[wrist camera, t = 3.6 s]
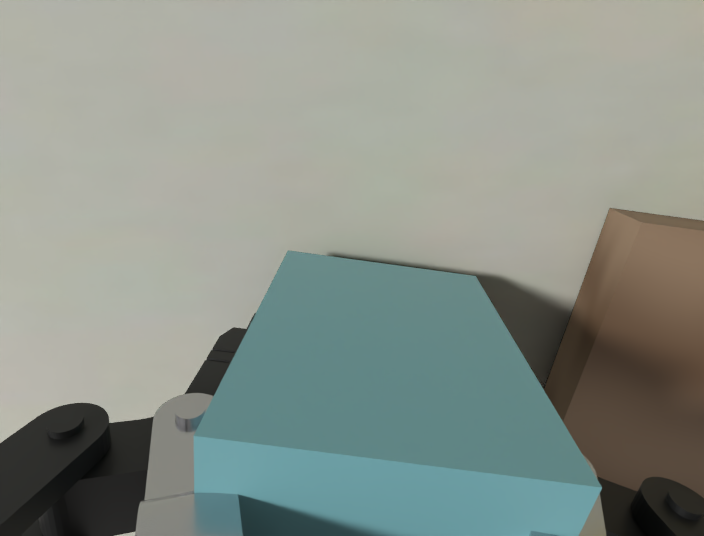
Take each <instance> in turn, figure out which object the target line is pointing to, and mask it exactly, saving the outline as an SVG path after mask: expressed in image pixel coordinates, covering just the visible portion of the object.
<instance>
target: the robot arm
mask: <svg viewBox="0 0 704 536" xmlns="http://www.w3.org/2000/svg"><path fill="white" fill-rule="evenodd" d="M255 314H256V313H255ZM255 314H254V316H255ZM254 316H253V318H254ZM253 318H252V320H253ZM252 320H251V321H250V323H249V325H248V327H247V329H241V328H234V327H233V328H232V329H230V330H229V331H227V332H226V333H224V334H223V335H221V336H220V337H219V339H218V340H217V342H216V344H215V345H214V347H213V350H211V352H210V353H209V355H208V357H207V360H205V362H204V363H203V365H202V367H201V368H200V370H199V372H198V373H197V375H196V376H195V378H194V380H193V381H192V383H191V385H190V386H189V388H188V390H187V391H186V393H185V394H183V395H180V396H177V397H174V398H172V399H170V400H168V401H167V402H165V403H164V404H163V405H162V406H161V407H159V409H158V410H157V411H156V413H155V415H154V417H151V418H147V419H141V420H133V421H124V422H115V423H109V417H108V414H107V412H106V411H105V410H104V409H103V408H101V407H100V406H97V405H94V404H90V403H74V404H68V405H63V406H60V407H57V408H54V409H52V410H49V411H47V412H45V413H43V414H41V415H40V416H38V417H37V418H35V419H34V420H32V421H31V422H30V423H28V424H27V425H25V426H24V427H23V428H21V429H20V430H18V431H17V432H16V433H14V434H13V435H11V436H10V437H9V438H7V439H6V440H4V441H3V442H2V443H0V536H114V535H119V534H124V533H130V532H135V531H136V532H135V536H243V533H242V524H241V516H240V507H239V498H238V494H226V493H194V434H195V432H196V430H197V428H198V426H199V424H200V422H201V420H202V418H203V416H204V414H205V412H206V410H207V408H208V406H209V405H210V403H211V401H212V399H213V397H214V395H215V393H216V391H217V389H218V387H219V385H220V383H221V381H222V379H223V377H224V375H225V373H226V371H227V369H228V367H229V365H230V363H231V361H232V359H233V357H234V356H235V354H236V352H237V350H238V348H239V346H240V344H241V342H242V340H243V338H244V336H245V334H246V332H247V330H248V328H249V326H250V324H251V322H252ZM582 455H583V454H582ZM583 456H584V455H583ZM584 458H585V460H586V461H587V463H588V465H589V466H590V468H591V470H592V471H593V473H594V475H595V476H596V478H597V480H598V481H599V483H600V485H601V486H602V489H601V491H600V493H599V495H598V497H597V499H596V501H595V503H594V505H593V507H592V509H591V511H590V514H589V516H588V518H587V520H586V522H585V524H584V526H583V528H582V530H581V532H580V534H579V536H704V498H703V497H702V496H700V495H699V494H698V493H696V492H695V491H693V490H692V489H690V488H688V487H686V486H684V485H682V484H680V483H678V482H676V481H673V480H670V479H667V478H663V477H649V478H646V479H645V480H644V481H643V482H642V484H641V486H640V488H639V489H638V491H635V490H632V489H630V488H627V487H624V486H621V485H619V484H616V483H613V482H610V481H608V480H605V479H603V478H600V477H598V476H597V474H596V471H595V469H594V467H593V465H592V464H591V463H590V461H589V460H588V459H587V458H586V457H585V456H584ZM529 536H556V535H552V534H547V533H542V532H537V531H531V532H530V535H529Z"/></svg>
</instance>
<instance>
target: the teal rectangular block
mask: <svg viewBox="0 0 704 536" xmlns="http://www.w3.org/2000/svg"><path fill="white" fill-rule="evenodd" d="M601 489H602V486H601V485H600V483H599V481H598V480H597V478H596V476H595V475H594V473H593V471H592V470H591V468H590V466H589V465H588V463H587V461H586V460H585V458H584V456H583V455H582V453H581V451H580V450H579V448H578V446H577V445H576V443H575V441H574V440H573V438H572V436H571V435H570V433H569V431H568V430H567V428H566V426H565V425H564V423H563V421H562V420H561V418H560V416H559V415H558V413H557V411H556V410H555V408H554V406H553V405H552V403H551V401H550V400H549V398H548V396H547V395H546V393H545V391H544V389H543V388H542V386H541V384H540V383H539V381H538V379H537V378H536V376H535V374H534V373H533V371H532V369H531V368H530V366H529V364H528V363H527V361H526V359H525V358H524V356H523V354H522V353H521V351H520V349H519V348H518V346H517V344H516V343H515V341H514V339H513V338H512V336H511V334H510V333H509V331H508V329H507V328H506V326H505V324H504V323H503V321H502V319H501V318H500V316H499V314H498V313H497V311H496V309H495V308H494V306H493V304H492V303H491V301H490V299H489V298H488V296H487V294H486V293H485V291H484V289H483V288H482V286H481V284H480V283H479V281H478V279H477V278H476V276H472V275H465V274H457V273H450V272H442V271H435V270H428V269H420V268H413V267H406V266H398V265H391V264H384V263H376V262H369V261H361V260H354V259H347V258H339V257H332V256H325V255H317V254H310V253H302V252H295V251H288V252H287V254H286V256H285V258H284V260H283V261H282V263H281V265H280V267H279V269H278V271H277V273H276V275H275V277H274V279H273V281H272V283H271V285H270V287H269V289H268V291H267V293H266V295H265V297H264V299H263V301H262V303H261V305H260V307H259V309H258V310H257V312H256V314H255V316H254V318H253V320H252V322H251V324H250V326H249V328H248V330H247V332H246V334H245V336H244V338H243V340H242V342H241V344H240V346H239V348H238V350H237V352H236V354H235V356H234V357H233V359H232V361H231V363H230V365H229V367H228V369H227V371H226V373H225V375H224V377H223V379H222V381H221V383H220V385H219V387H218V389H217V391H216V393H215V395H214V397H213V399H212V401H211V403H210V405H209V406H208V408H207V410H206V412H205V414H204V416H203V418H202V420H201V422H200V424H199V426H198V428H197V430H196V432H195V434H194V493H226V494H238V498H239V507H240V516H241V524H242V533H243V536H529V535H530V532H531V531H537V532H542V533H547V534H552V535H556V536H579V534H580V532H581V530H582V528H583V526H584V524H585V522H586V520H587V518H588V516H589V514H590V511H591V509H592V507H593V505H594V503H595V501H596V499H597V497H598V495H599V493H600V491H601Z"/></svg>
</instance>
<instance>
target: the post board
mask: <svg viewBox="0 0 704 536" xmlns="http://www.w3.org/2000/svg"><path fill="white" fill-rule="evenodd" d="M544 391H545V393H546V395H547V396H548V398H549V400H550V401H551V403H552V405H553V406H554V408H555V410H556V411H557V413H558V415H559V416H560V418H561V420H562V421H563V423H564V425H565V426H566V428H567V430H568V431H569V433H570V435H571V436H572V438H573V440H574V441H575V443H576V445H577V446H578V448H579V450H580V451H581V453H582V454H583V455H584V456H585V457H586V458H587V459H588V460H589V461H590V463H591V464H592V465H593V467H594V469H595V471H596V474H597V476H598V477H600V478H603V479H605V480H608V481H610V482H613V483H616V484H619V485H621V486H624V487H627V488H630V489H632V490H635V491H638V489H639V488H640V486H641V484H642V482H643V481H644V480H645V479H646V478H649V477H663V478H667V479H670V480H673V481H676V482H678V483H680V484H682V485H684V486H686V487H688V488H690V489H692V490H693V491H695V492H696V493H698V494H699V495H700V496H702V497H703V498H704V221H701V220H693V219H686V218H678V217H671V216H664V215H656V214H649V213H642V212H634V211H627V210H620V209H612V208H610V209H609V212H608V214H607V217H606V220H605V223H604V225H603V228H602V231H601V234H600V236H599V239H598V242H597V245H596V247H595V250H594V253H593V256H592V259H591V261H590V264H589V267H588V270H587V272H586V275H585V278H584V281H583V283H582V286H581V289H580V292H579V294H578V297H577V300H576V303H575V305H574V308H573V311H572V314H571V316H570V319H569V322H568V325H567V327H566V330H565V333H564V336H563V339H562V341H561V344H560V347H559V350H558V352H557V355H556V358H555V361H554V363H553V366H552V369H551V372H550V374H549V377H548V380H547V383H546V385H545V388H544Z"/></svg>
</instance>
